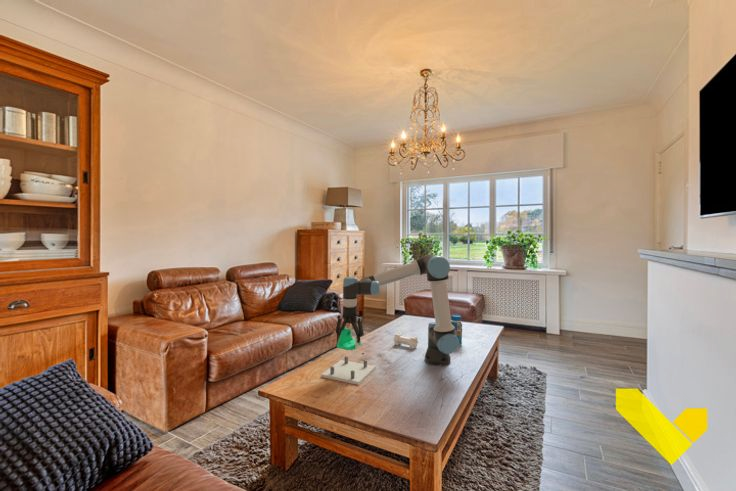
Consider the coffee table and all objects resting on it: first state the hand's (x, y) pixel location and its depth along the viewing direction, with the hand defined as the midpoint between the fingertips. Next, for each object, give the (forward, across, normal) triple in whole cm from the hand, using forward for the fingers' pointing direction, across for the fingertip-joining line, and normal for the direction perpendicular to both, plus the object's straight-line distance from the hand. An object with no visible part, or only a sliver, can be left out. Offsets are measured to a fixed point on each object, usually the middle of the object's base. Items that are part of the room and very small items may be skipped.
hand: (349, 347), depth 184 cm
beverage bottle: (+14, -45, -73) cm, 87 cm away
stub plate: (+14, 0, 0) cm, 14 cm away
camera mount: (+1, 0, 0) cm, 1 cm away
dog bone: (+14, -15, -54) cm, 58 cm away
